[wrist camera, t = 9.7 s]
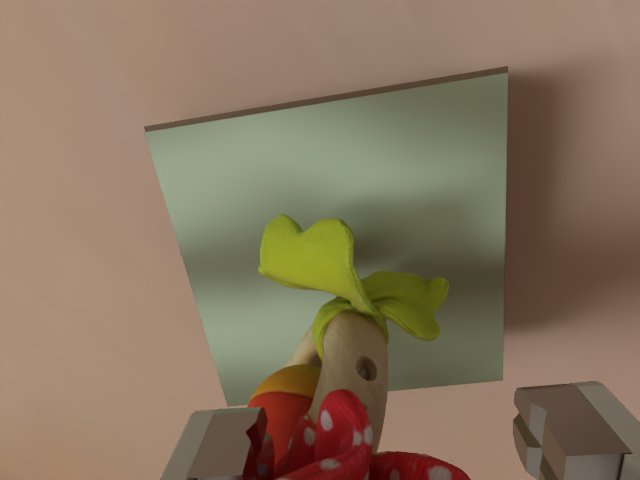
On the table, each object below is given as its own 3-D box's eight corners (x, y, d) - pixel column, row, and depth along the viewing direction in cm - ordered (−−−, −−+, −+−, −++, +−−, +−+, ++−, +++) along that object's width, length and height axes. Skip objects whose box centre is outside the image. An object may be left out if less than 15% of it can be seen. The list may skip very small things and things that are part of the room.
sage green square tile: (475, 331, 20) (507, 383, 16) (244, 356, 21) (224, 410, 18) (471, 73, 16) (514, 64, 12) (180, 121, 17) (137, 127, 13)
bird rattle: (359, 354, 18) (479, 214, 12) (371, 751, 9) (794, 916, 4) (229, 320, 16) (294, 145, 11) (108, 743, 8) (109, 982, 2)
